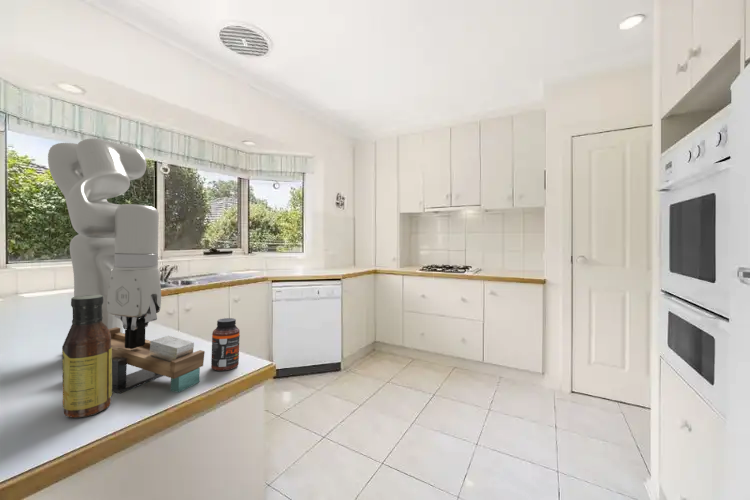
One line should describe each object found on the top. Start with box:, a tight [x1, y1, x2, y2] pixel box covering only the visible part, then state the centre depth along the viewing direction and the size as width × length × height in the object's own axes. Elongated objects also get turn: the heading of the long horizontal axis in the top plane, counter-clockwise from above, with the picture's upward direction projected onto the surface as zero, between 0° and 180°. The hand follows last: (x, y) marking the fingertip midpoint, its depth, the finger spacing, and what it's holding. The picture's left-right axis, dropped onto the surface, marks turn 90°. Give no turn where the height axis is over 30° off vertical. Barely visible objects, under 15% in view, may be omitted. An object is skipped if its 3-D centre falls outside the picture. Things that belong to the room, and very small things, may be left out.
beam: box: [109, 327, 206, 379], centre depth 67 cm, size 26×8×6 cm, turn 74°
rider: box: [149, 335, 195, 363], centre depth 65 cm, size 7×4×4 cm, turn 74°
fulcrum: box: [112, 357, 201, 394], centre depth 67 cm, size 26×13×6 cm, turn 74°
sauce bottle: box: [61, 295, 113, 419], centre depth 53 cm, size 6×6×20 cm
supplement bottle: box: [210, 317, 241, 372], centre depth 74 cm, size 6×6×11 cm
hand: (135, 346), depth 67 cm, fingers closed
